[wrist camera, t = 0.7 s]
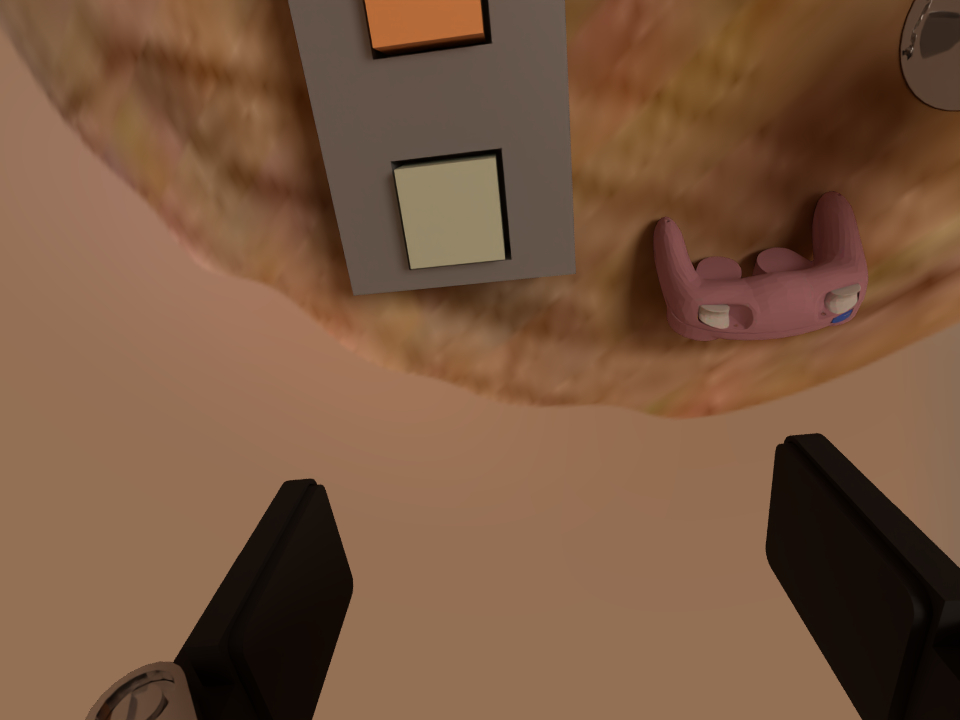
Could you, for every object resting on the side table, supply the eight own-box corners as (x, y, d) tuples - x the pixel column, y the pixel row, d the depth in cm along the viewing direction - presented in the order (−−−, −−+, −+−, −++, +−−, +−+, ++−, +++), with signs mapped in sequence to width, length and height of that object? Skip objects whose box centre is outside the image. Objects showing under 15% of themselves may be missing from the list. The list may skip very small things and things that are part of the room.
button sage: (405, 163, 26) (393, 169, 23) (496, 152, 25) (495, 157, 23) (420, 253, 28) (410, 268, 25) (504, 244, 27) (505, 259, 24)
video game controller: (641, 274, 32) (672, 367, 27) (648, 210, 28) (685, 305, 24) (816, 249, 31) (877, 341, 26) (845, 180, 27) (921, 273, 23)
